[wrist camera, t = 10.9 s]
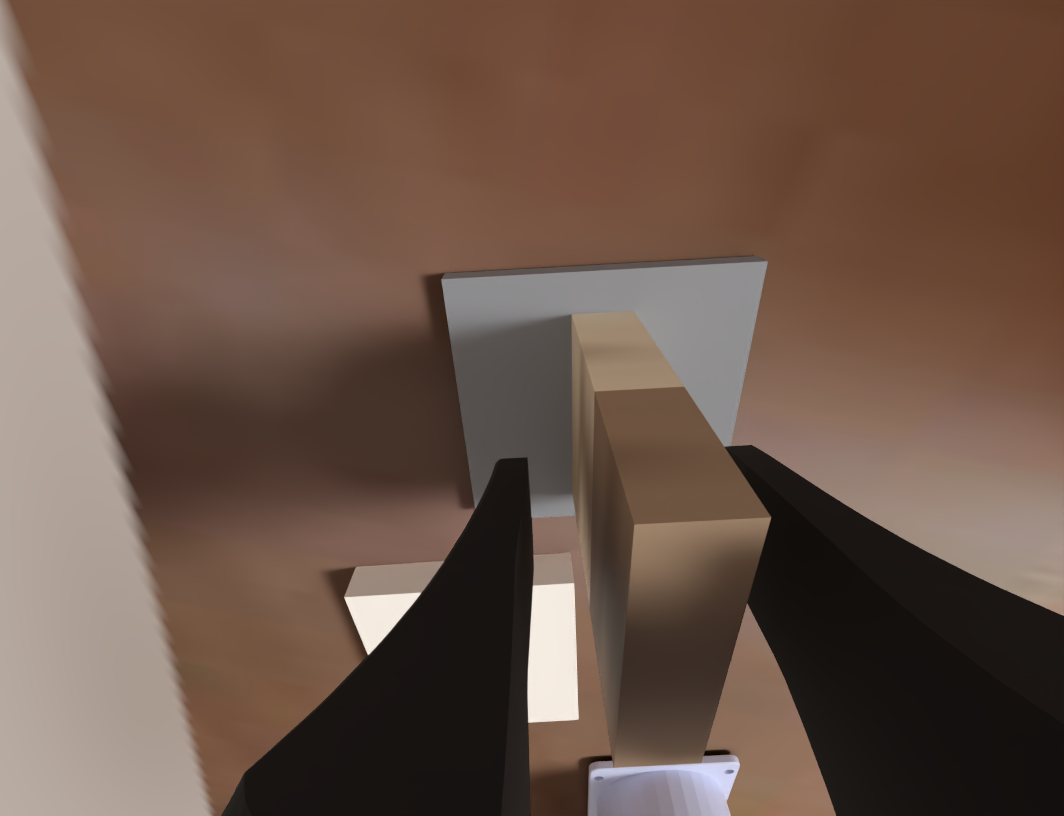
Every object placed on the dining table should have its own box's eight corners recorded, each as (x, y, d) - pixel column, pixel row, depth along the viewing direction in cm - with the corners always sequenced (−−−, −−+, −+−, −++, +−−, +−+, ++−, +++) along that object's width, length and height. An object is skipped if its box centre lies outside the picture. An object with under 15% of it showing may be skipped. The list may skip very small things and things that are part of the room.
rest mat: (711, 495, 16) (717, 508, 15) (478, 508, 16) (476, 520, 15) (756, 255, 12) (768, 261, 11) (444, 273, 12) (441, 279, 11)
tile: (578, 719, 21) (399, 729, 21) (574, 679, 22) (407, 689, 22) (574, 583, 16) (344, 597, 16) (569, 544, 18) (359, 558, 18)
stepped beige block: (622, 491, 15) (701, 763, 8) (572, 494, 15) (613, 767, 8) (634, 310, 12) (771, 517, 5) (571, 314, 12) (634, 524, 5)
